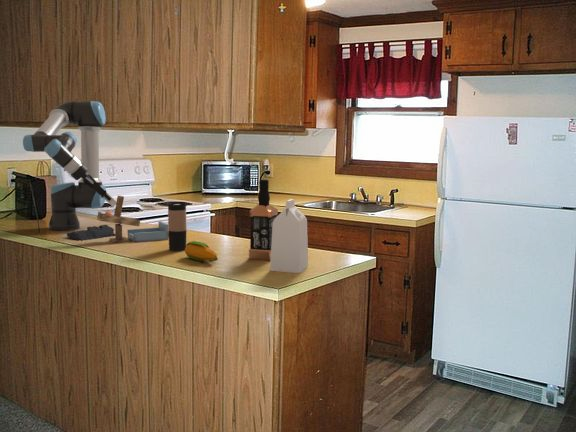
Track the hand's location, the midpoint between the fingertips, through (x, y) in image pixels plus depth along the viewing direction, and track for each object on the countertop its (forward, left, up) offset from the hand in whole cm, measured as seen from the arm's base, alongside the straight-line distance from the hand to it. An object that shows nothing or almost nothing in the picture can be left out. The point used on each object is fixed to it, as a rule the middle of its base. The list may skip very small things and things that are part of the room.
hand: (114, 204), depth 284 cm
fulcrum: (+2, +2, -17) cm, 17 cm away
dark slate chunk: (-9, -14, -17) cm, 24 cm away
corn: (+41, +47, -17) cm, 65 cm away
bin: (-4, +14, -17) cm, 22 cm away
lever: (+2, +2, -8) cm, 8 cm away
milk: (+51, +82, -17) cm, 98 cm away
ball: (+5, -2, -4) cm, 7 cm away
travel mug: (+20, +33, -17) cm, 42 cm away
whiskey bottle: (+33, +71, -17) cm, 80 cm away
